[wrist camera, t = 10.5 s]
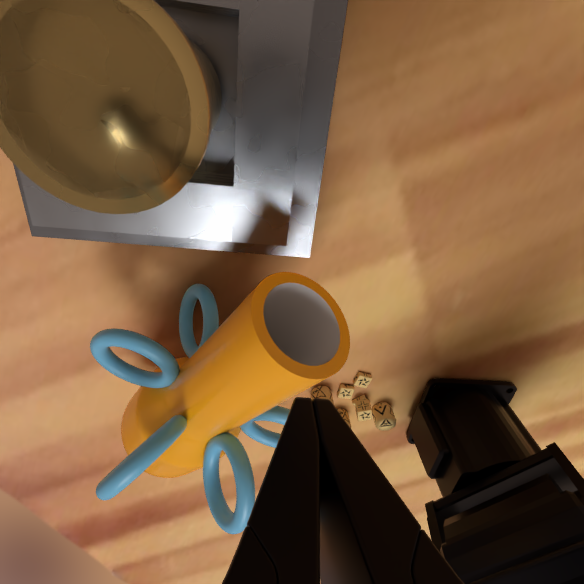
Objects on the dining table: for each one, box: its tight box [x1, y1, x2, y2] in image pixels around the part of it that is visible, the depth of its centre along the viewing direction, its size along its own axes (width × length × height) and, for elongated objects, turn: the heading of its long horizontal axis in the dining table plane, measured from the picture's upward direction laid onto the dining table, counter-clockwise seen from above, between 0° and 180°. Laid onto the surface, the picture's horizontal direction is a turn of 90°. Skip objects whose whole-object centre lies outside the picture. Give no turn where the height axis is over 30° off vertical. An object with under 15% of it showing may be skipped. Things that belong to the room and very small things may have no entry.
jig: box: [13, 0, 348, 258], centre depth 15 cm, size 14×14×3 cm
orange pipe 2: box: [90, 272, 350, 534], centre depth 18 cm, size 12×10×15 cm
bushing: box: [0, 0, 222, 214], centre depth 12 cm, size 5×5×8 cm
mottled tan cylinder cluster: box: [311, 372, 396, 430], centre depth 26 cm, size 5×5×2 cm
